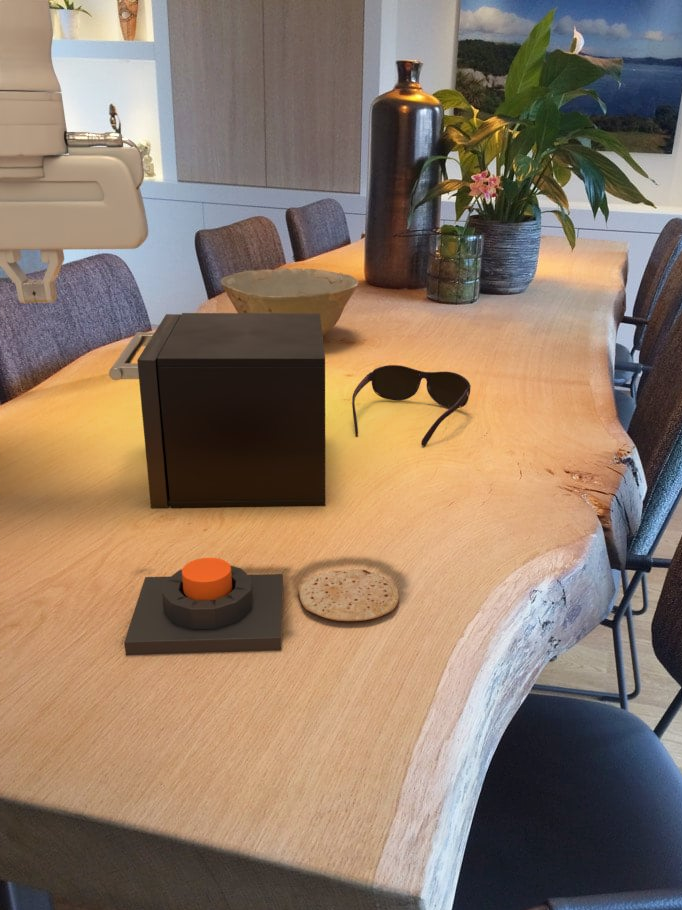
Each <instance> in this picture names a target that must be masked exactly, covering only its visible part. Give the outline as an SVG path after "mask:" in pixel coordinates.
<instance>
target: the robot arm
mask: <svg viewBox="0 0 682 910" xmlns="http://www.w3.org/2000/svg"><path fill="white" fill-rule="evenodd" d="M53 30H54V29H53V21H52V15H51V7H50V1H49V0H0V268H1V269H2V271H3V272H4V273H5V274H6V275H7V276H8V278H9V279H10V281H12V283H13V284H14V285H15V289H16V294H17V301H18V303H20V304H28V303H29V304H31V303H32V304H33V303H55V302H57V300H58V294H57V293H58V292H57V287H56V280H57V277H58V275H59V273H60V271H61V268H62V266H63V263H64V261H65V254H64V251H65V250H133V249H134V250H136V249H138V248H139V247H141V246H142V245H143V243H144V242H145V241H146V240H147V238H148V237H149V226H148V224H149V223H148V218H147V213H146V208H145V203H144V199H143V196H142V191H141V186H142V184H143V182H144V179H145V170H144V159H143V154H142V151H141V150H140V148H139V146H137V144H136V143H135V142H133V141H132V140H130V139H129V138H127V137H123V135H122V134H121V133H119V132H113V131H108V132H104V133H95V132H89V131H88V132H87V131H86V132H85V131H68V129H67V121H66V115H65V109H64V102H63V94H62V87H61V85H60V82H59V79H58V76H57V74H56V72H55V69H54V65H53V58H52V45H53V38H54V31H53ZM124 144H126V145H128V146H123V145H124ZM21 251H39V252H40V257H41V262H42V263H43V264H48V266H47V268H46V270H45V273H44V275H43V278H41V279H29V278H28V276H27V275H26V273H25V272H24V271H23V269H22V268H21V266H20V265H19V264H18V261H19V260H21V259H22V253H21Z"/></svg>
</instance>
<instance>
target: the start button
mask: <svg viewBox="0 0 682 910" xmlns="http://www.w3.org/2000/svg"><path fill="white" fill-rule="evenodd" d="M231 566H232V565H231V564H230V563H229V561H226V560H225V559H222V558H217V557H201V558H196V559H193V560H191V561H189V562H188V563H186V564H184V566H183V567H182V581H183V591H184V594H185V595H186V596H187V597H188V598H191V599H194V600H214V599H218V598H221V597H224V596H227V595H228V594H229V593H230V592H231V590H232V575H231Z"/></svg>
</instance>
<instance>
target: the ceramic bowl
mask: <svg viewBox="0 0 682 910" xmlns="http://www.w3.org/2000/svg"><path fill="white" fill-rule="evenodd" d="M220 284H221V286H222V288H223V290H224V292H225V293H226V296H227V297H228V299H229V300H230V302H231V304H232V306H233V307H234V309H235V310H236V313H297V314H320V317H321V326H322V335H323V337H324V336H325V335H327V334H328V333H329V331H330V330H332V329H333V328H334V327H335V326H336V325H337V324H338V322H339V320H340V318H341V316H342V314H343V312H344V309H345V307H346V305H347V304H348V303H349V301H350V299H351V298H352V296H353V295H354V293H355V291H356V290H357V288H358V286H359V281H358V280H357V278H356V277H354V276H353V275H350V274H344V273H342V272H335V271H330V270H324V269H316V268H315V269H314V268H304V269H303V268H275V269H274V270H273V269H272V268H271V269H257V270H245V271H240V272H235V273H232V274H230V275H229V274H228V275H226V276H224V277H222V278H221V280H220Z"/></svg>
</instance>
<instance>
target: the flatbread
mask: <svg viewBox="0 0 682 910" xmlns="http://www.w3.org/2000/svg"><path fill="white" fill-rule="evenodd" d="M297 592H298V595H299V600H300V602H301V606H303V608H304V609H305V610H306V611H308V612H310V613H312V614H314V615H317V616H318V617H320V618H324V619H327V620H332V621H337V622H360V621H361V622H362V621H369V620H373V619H376V618H379V617H380V618H381V617H382V616H385V615H387V614H388V613H390V612H393V610H394V609H395V608H396V607H397V606H398V603H399V599H400V595H399V594H400V593H399V590H398V586H397V585H396V584H395V583H394V582H393V581H391V580H389V579H388V578H387V577H386V578H385V577H384V576H382V575H381V574H379V573H376V572H373V571H369V570H366V569H363V568H361V569H343V570H331V571H327V572H323V573H318V574H316V575H313V576H312V577H310V578H309V579H307V580H306V581H304V582H302V583H300V584H299V585H298V586H297Z"/></svg>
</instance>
